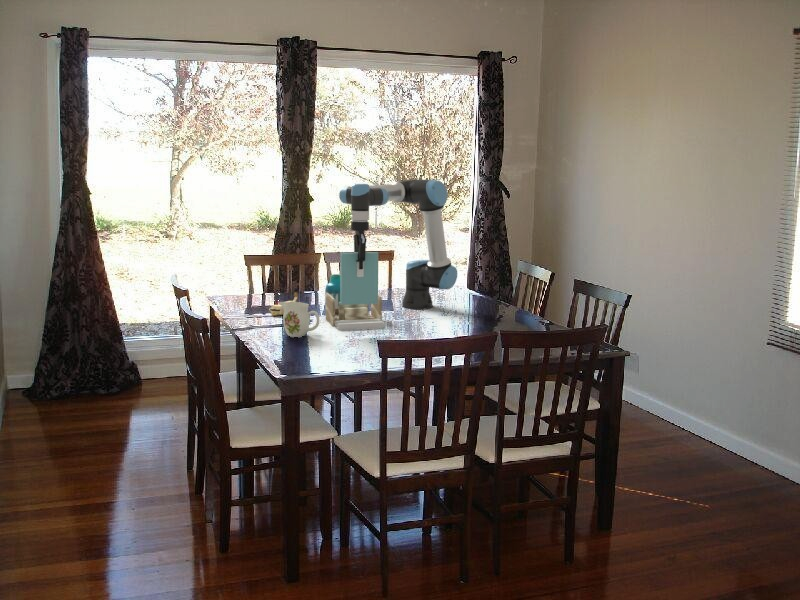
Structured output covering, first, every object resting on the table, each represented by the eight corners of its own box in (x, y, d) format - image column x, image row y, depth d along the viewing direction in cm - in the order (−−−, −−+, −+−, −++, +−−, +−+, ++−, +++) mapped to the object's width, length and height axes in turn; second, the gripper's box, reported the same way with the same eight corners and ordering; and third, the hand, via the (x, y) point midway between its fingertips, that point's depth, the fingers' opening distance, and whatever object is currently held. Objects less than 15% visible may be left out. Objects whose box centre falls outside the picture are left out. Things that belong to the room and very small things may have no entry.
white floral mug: (315, 340, 325) (314, 307, 323) (273, 337, 329) (273, 304, 327) (323, 334, 336) (323, 302, 333) (283, 331, 340) (282, 299, 337)
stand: (379, 327, 350) (379, 318, 350) (384, 331, 343) (384, 322, 343) (334, 329, 345) (334, 320, 344) (338, 333, 338) (338, 324, 337)
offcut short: (366, 322, 353) (366, 307, 352) (367, 323, 351) (367, 308, 349) (343, 323, 350) (343, 307, 349) (345, 324, 348) (345, 309, 346)
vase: (344, 318, 368) (344, 277, 365) (322, 317, 370) (322, 276, 367) (350, 313, 378) (350, 273, 375) (328, 312, 380) (328, 272, 377)
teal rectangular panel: (376, 302, 345) (377, 252, 341) (377, 303, 343) (378, 252, 339) (340, 304, 340) (340, 252, 336) (341, 304, 338) (341, 253, 334)
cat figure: (287, 309, 394) (263, 314, 371) (288, 291, 393) (264, 295, 370) (306, 310, 391) (283, 316, 368) (306, 293, 390) (283, 297, 367)
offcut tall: (367, 320, 357) (367, 300, 356) (368, 321, 355) (368, 301, 353) (338, 321, 354) (338, 301, 352) (339, 323, 351) (339, 302, 350)
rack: (372, 320, 365) (373, 291, 363) (381, 327, 351) (382, 297, 348) (325, 322, 359) (325, 292, 356) (332, 329, 345) (332, 299, 342)
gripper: (347, 219, 341) (346, 273, 345) (355, 222, 327) (355, 279, 331) (364, 219, 343) (363, 273, 348) (373, 222, 329) (372, 278, 333)
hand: (359, 276), depth 339 cm, fingers closed on teal rectangular panel, 2 cm apart
